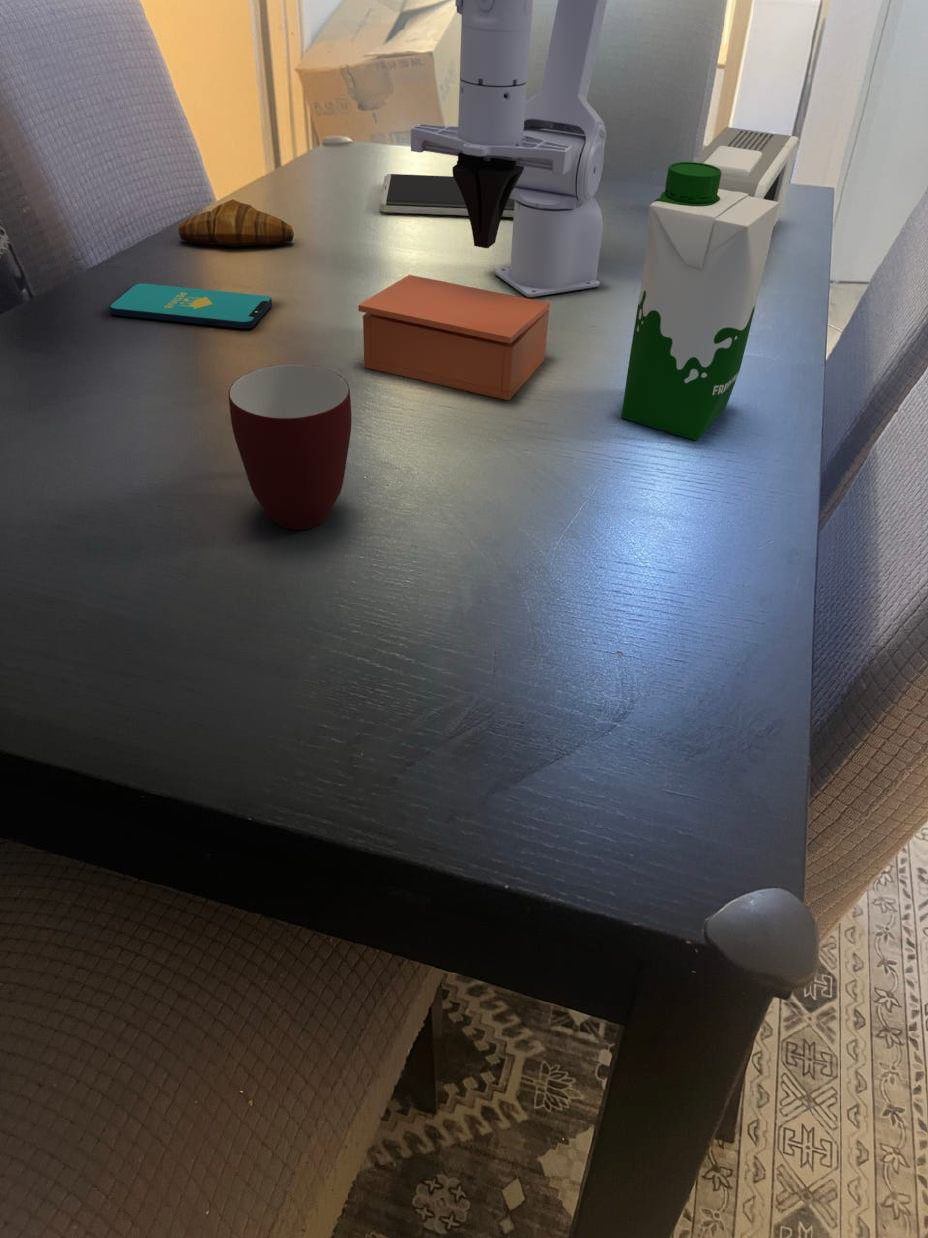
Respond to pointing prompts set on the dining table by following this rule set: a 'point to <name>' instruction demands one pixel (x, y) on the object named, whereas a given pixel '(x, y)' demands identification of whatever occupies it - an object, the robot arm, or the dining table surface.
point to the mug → (293, 439)
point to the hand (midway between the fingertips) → (484, 244)
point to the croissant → (235, 227)
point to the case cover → (456, 308)
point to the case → (454, 355)
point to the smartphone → (192, 305)
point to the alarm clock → (753, 162)
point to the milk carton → (695, 300)
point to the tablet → (426, 196)
